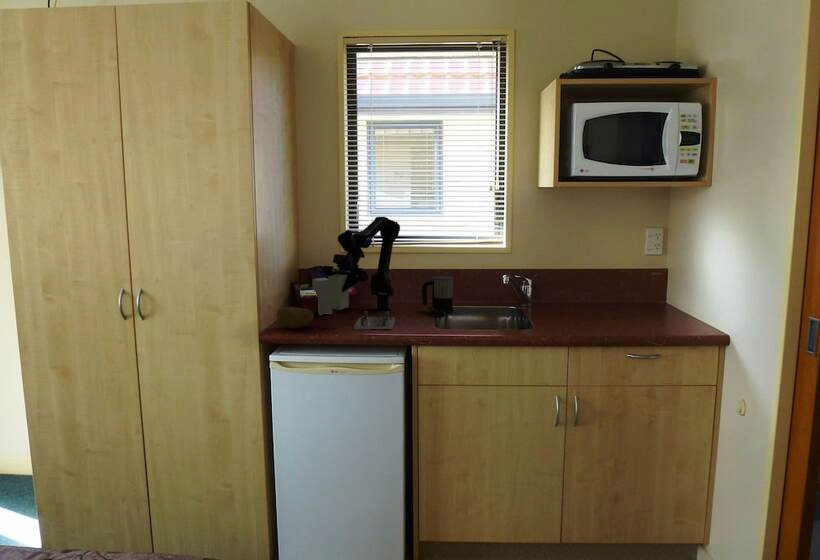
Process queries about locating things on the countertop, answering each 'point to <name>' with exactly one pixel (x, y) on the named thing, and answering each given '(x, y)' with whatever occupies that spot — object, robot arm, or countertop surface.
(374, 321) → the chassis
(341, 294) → the plate
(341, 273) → the robot arm
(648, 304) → the countertop surface
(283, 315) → the potato
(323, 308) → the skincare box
